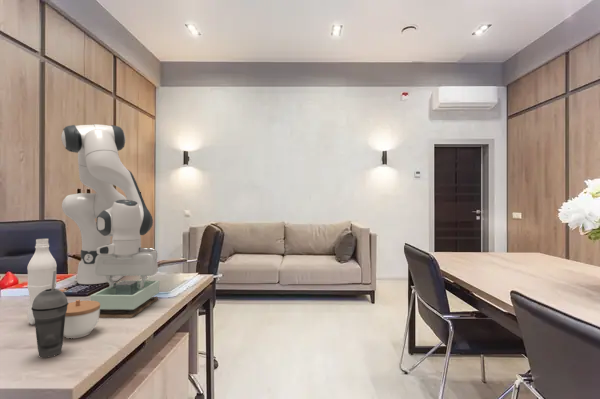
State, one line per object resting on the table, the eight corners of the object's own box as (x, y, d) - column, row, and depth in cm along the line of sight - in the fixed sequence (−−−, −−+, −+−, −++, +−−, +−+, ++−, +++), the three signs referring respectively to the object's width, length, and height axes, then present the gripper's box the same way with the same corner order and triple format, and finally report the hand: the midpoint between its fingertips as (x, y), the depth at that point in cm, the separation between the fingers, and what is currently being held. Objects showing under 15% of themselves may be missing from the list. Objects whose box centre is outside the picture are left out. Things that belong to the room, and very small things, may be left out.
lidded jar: (60, 345, 90) (60, 309, 90) (49, 334, 97) (49, 300, 97) (106, 334, 97) (105, 300, 97) (93, 324, 105) (92, 292, 105)
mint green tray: (122, 295, 130) (122, 280, 130) (159, 295, 130) (159, 280, 130) (90, 313, 110) (90, 295, 110) (133, 313, 110) (133, 295, 110)
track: (103, 298, 130) (103, 295, 130) (157, 299, 130) (157, 296, 130) (67, 317, 110) (67, 314, 110) (131, 318, 110) (131, 314, 110)
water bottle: (59, 322, 106) (59, 239, 106) (29, 328, 101) (29, 241, 101) (54, 316, 111) (53, 237, 111) (25, 322, 106) (25, 239, 106)
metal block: (122, 295, 123) (122, 281, 123) (137, 295, 123) (137, 281, 123) (115, 299, 118) (115, 284, 118) (130, 299, 118) (130, 284, 118)
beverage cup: (48, 346, 89) (48, 267, 89) (75, 347, 88) (75, 268, 88) (23, 359, 82) (22, 273, 82) (52, 361, 81) (52, 274, 81)
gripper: (160, 246, 123) (160, 286, 123) (102, 246, 123) (102, 285, 123) (153, 249, 117) (153, 291, 117) (91, 248, 117) (91, 290, 117)
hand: (126, 288), depth 120 cm, fingers open, 8 cm apart
